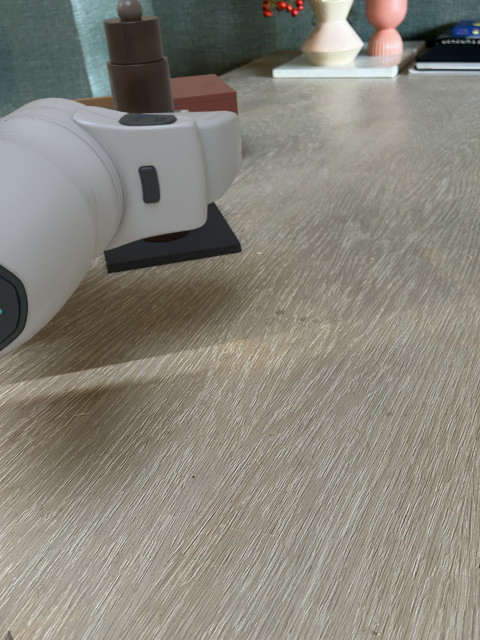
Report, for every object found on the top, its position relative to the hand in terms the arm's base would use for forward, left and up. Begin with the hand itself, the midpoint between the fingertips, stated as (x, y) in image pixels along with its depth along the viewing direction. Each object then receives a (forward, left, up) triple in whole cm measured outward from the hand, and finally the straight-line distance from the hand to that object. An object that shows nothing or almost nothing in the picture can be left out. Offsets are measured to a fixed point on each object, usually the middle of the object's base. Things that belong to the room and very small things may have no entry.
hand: (121, 122), depth 52 cm
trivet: (+3, +6, -12) cm, 14 cm away
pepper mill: (+2, +6, -12) cm, 13 cm away
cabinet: (+9, +34, -12) cm, 38 cm away
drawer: (-2, +34, -12) cm, 36 cm away
